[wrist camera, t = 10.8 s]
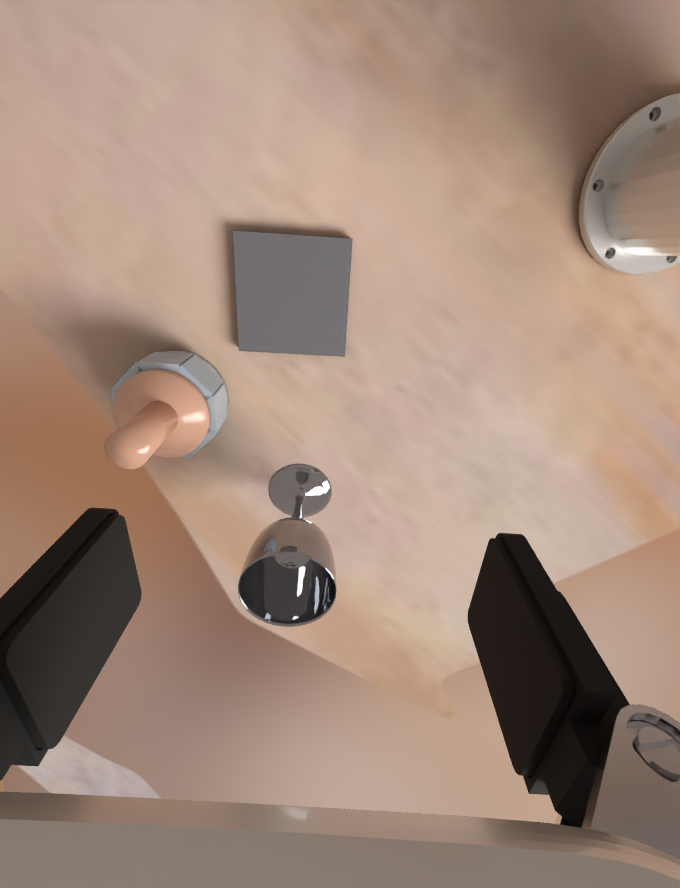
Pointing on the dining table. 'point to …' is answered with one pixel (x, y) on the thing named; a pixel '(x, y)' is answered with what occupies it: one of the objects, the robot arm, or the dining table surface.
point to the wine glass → (291, 554)
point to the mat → (292, 292)
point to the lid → (157, 418)
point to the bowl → (198, 373)
